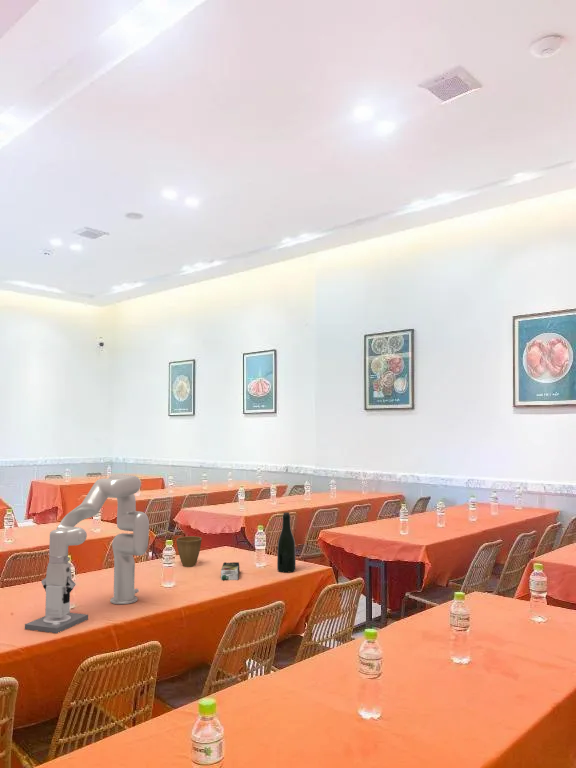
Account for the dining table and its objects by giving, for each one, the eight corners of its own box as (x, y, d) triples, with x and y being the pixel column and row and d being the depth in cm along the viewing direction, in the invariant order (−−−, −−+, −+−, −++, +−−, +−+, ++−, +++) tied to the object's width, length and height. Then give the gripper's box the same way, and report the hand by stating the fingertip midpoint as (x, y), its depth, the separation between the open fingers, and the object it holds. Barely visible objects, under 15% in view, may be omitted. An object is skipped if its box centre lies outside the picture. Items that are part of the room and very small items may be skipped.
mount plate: (57, 615, 285) (57, 608, 286) (87, 619, 280) (88, 612, 280) (24, 629, 267) (24, 621, 267) (56, 633, 261) (56, 625, 261)
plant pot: (176, 563, 392) (177, 536, 393) (201, 562, 394) (201, 536, 395) (175, 568, 378) (175, 540, 379) (201, 568, 379) (201, 540, 380)
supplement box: (60, 618, 269) (61, 587, 270) (44, 617, 271) (45, 586, 271) (70, 613, 277) (70, 582, 277) (54, 612, 278) (54, 581, 279)
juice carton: (238, 580, 350) (238, 569, 350) (220, 581, 349) (220, 569, 350) (239, 572, 370) (239, 561, 370) (222, 573, 369) (222, 562, 370)
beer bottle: (274, 569, 375) (274, 512, 377) (290, 568, 379) (290, 511, 381) (281, 573, 366) (281, 514, 368) (298, 571, 370) (298, 513, 372)
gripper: (81, 559, 276) (80, 601, 275) (47, 556, 281) (47, 597, 280) (69, 562, 269) (69, 606, 268) (35, 559, 274) (34, 602, 273)
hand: (57, 601), depth 274 cm, fingers closed on supplement box, 8 cm apart
